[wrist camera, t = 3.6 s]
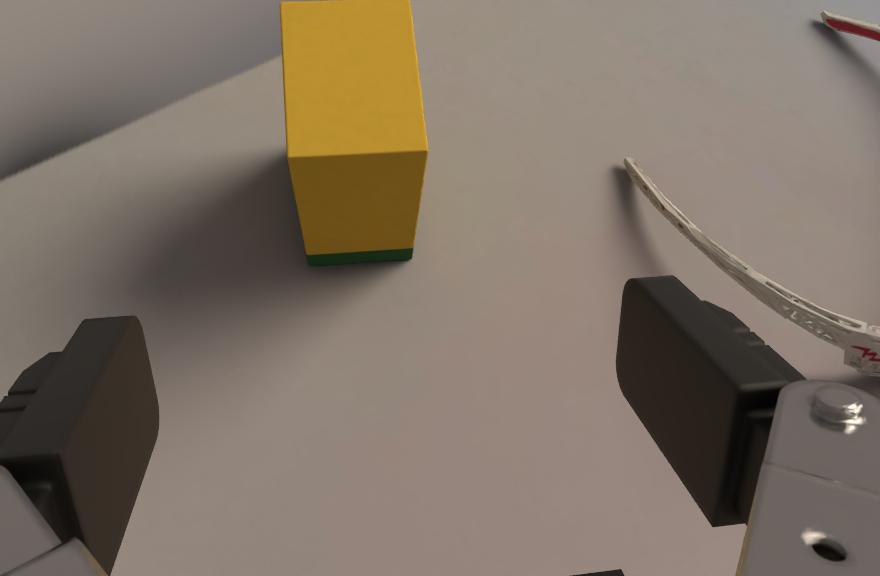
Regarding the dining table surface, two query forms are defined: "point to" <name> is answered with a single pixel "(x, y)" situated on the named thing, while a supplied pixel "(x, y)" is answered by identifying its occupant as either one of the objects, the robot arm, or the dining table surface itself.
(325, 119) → the sponge
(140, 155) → the dining table surface
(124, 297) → the dining table surface
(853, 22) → the sunglasses
